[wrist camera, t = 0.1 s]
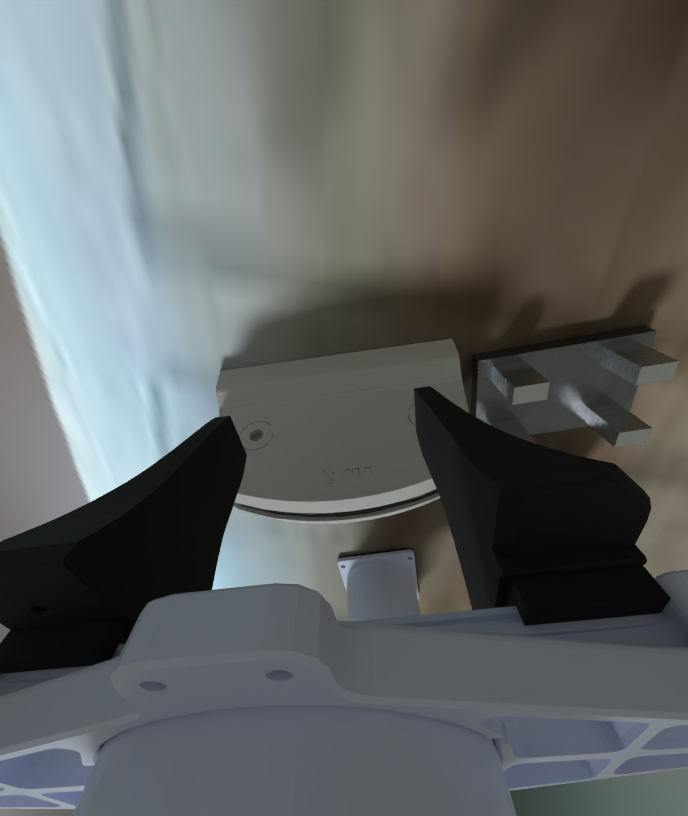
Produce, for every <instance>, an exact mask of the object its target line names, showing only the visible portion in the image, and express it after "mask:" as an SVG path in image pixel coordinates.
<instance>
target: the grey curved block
mask: <svg viewBox="0 0 688 816" xmlns="http://www.w3.org/2000/svg"><path fill="white" fill-rule="evenodd" d="M427 386H431V387H432V388H434V389H435V390H436V391H438V392H439V393H440V394H442V395H443V396H444V397H446V398H447V399H449V400H450V401H451V402H453V403H454V404H456V405H457V406H459V407H460V408H462V409H463V410H465V411H466V412H468V413H469V411H468V406H467V401H466V396H465V391H464V386H463V381H462V375H461V367H460V359H459V353H458V351H457V349H456V346H455V344H454V341H453V339H445V340H438V341H431V342H423V343H416V344H409V345H402V346H394V347H387V348H380V349H373V350H366V351H358V352H351V353H344V354H337V355H330V356H322V357H315V358H308V359H301V360H293V361H286V362H279V363H272V364H265V365H257V366H250V367H243V368H236V369H228V370H221V371H220V374H219V378H218V382H217V386H216V392H217V398H218V404H219V417H223V416H231V419H232V421H233V423H234V426H235V428H236V431H237V433H238V435H239V438H240V440H241V442H242V445H243V447H244V450H245V452H246V454H247V457H246V464H245V469H244V474H243V478H242V482H241V485H240V488H239V491H238V494H237V496H236V499H235V502H234V507H236V508H237V509H240V510H243V511H246V512H249V513H253V514H256V515H260V516H263V517H268V518H273V519H277V520H282V521H290V522H297V523H315V524H336V523H349V522H357V521H365V520H372V519H377V518H381V517H386V516H391V515H394V514H398V513H401V512H405V511H408V510H411V509H414V508H417V507H420V506H423V505H425V504H428V503H430V502H432V501H434V500H437V499H439V498H440V496H439V494H438V491H437V489H436V486H435V484H434V482H433V479H432V477H431V474H430V472H429V470H428V467H427V465H426V462H425V460H424V457H423V455H422V452H421V448H420V445H419V441H418V437H417V433H416V420H415V401H414V388H420V387H427Z"/></svg>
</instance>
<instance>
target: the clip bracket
mask: <svg viewBox="0 0 688 816" xmlns="http://www.w3.org/2000/svg"><path fill="white" fill-rule="evenodd" d="M656 332H657V331H656V330H654V329H651V328H649V327H646V326H639V327H633V328H628V329H622V330H616V331H610V332H604V333H599V334H593V335H587V336H581V337H575V338H569V339H564V340H558V341H552V342H546V343H540V344H535V345H529V346H523V347H517V348H511V349H505V350H500V351H494V352H488V353H482V354H476V355H473V368H472V399H471V415H473V416H475V417H476V418H478V419H480V420H482V421H483V422H485V423H487V424H489V425H491V426H493V427H495V428H498V429H500V430H502V431H504V432H506V433H508V434H511V435H513V436H516V437H518V438H521V439H524V440H526V441H529V442H532V443H535V444H538V443H537V442H536V441H535V440H534V438H533V437H532V436H531V435H536V434H543V433H549V432H556V431H563V430H570V429H576V428H583V427H590V426H591V427H592V428H593V429H594V430H595V431H597V432H598V433H599V434H600V435H601V436H602V437H603V438H604V439H606V440H607V441H608V442H609V443H610V444H611V445H612V446H614V447H620V446H627V445H634V444H641V443H647V440H648V438H649V435H650V433H651V430H652V427H650V426H649V425H647V424H646V423H645V422H643V421H642V420H640V419H639V418H638V417H636V416H635V415H633V414H632V413H631V412H629V411H630V408H631V405H632V402H633V399H634V396H635V393H636V390H637V387H638V385H642V384H649V383H655V382H661V381H668V380H672V378H673V376H674V373H675V371H676V368H677V366H678V363H679V361H678V360H676V359H674V358H672V357H669V356H667V355H665V354H663V353H661V352H659V351H656V350H654V349H652V348H651V347H652V344H653V341H654V338H655V335H656ZM538 445H539V444H538Z"/></svg>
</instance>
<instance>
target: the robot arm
mask: <svg viewBox="0 0 688 816" xmlns="http://www.w3.org/2000/svg"><path fill="white" fill-rule="evenodd" d="M414 401H415V420H416V433H417V437H418V441H419V445H420V448H421V452H422V455H423V457H424V460H425V462H426V465H427V467H428V470H429V472H430V474H431V477H432V479H433V482H434V484H435V486H436V489H437V491H438V494H439V496H440V498H441V501H442V504H443V506H444V509H445V512H446V515H447V519H448V522H449V526H450V529H451V532H452V536H453V539H454V543H455V546H456V550H457V553H458V557H459V561H460V564H461V568H462V572H463V575H464V579H465V583H466V587H467V590H468V594H469V598H470V602H471V606H472V610H468V611H458V612H448V613H437V614H427V615H421V613H420V608H419V603H418V599H419V593H418V584H417V575H416V566H415V557H414V552H413V551H412V550H401V551H393V552H385V553H377V554H369V555H361V556H353V557H345V558H339V559H338V560H337V564H338V567H339V570H340V573H341V576H342V579H343V582H344V585H345V588H346V591H347V616H348V621H340V620H336V618H335V615H334V612H333V609H332V607H331V605H330V604H329V603H328V602H327V601H326V600H325V599H324V598H323V597H322V596H321V594H319V593H318V592H317V591H315V590H312V589H309V588H307V587H304V586H301V585H299V584H278V583H274V584H264V585H255V586H246V587H236V588H227V589H218V590H212V586H213V581H214V576H215V571H216V566H217V561H218V556H219V552H220V547H221V543H222V539H223V535H224V532H225V528H226V525H227V522H228V519H229V516H230V514H231V511H232V508H233V505H234V502H235V499H236V496H237V494H238V491H239V488H240V485H241V482H242V478H243V474H244V469H245V464H246V457H247V454H246V452H245V450H244V447H243V445H242V442H241V440H240V438H239V435H238V433H237V431H236V428H235V426H234V423H233V421H232V419H231V416H223V417H216V418H214V419H212V420H211V421H209V422H208V423H207V424H205V425H204V426H203V427H201V428H200V429H199V430H198V431H196V432H195V433H194V434H193V435H191V436H190V437H189V438H188V439H186V440H185V441H184V442H182V443H181V444H180V445H179V446H177V447H176V448H175V449H174V450H172V451H171V452H170V453H168V454H167V455H166V456H164V457H163V458H161V459H160V460H159V461H157V462H156V463H155V464H153V465H152V466H151V467H149V468H148V469H146V470H145V471H143V472H142V473H140V474H139V475H137V476H135V477H134V478H132V479H131V480H129V481H128V482H126V483H124V484H123V485H121V486H119V487H117V488H115V489H114V490H112V491H110V492H108V493H106V494H105V495H103V496H101V497H99V498H97V499H96V500H94V501H92V502H90V503H88V504H86V505H84V506H82V507H80V508H78V509H76V510H74V511H72V512H69V513H67V514H65V515H63V516H61V517H59V518H56V519H55V520H52V521H50V522H47V523H45V524H43V525H40V526H38V527H35V528H33V529H30V530H28V531H25V532H23V533H21V534H18V535H16V536H13V537H11V538H8V539H5V540H3V541H2V542H0V623H1V624H2V625H4V626H5V627H7V628H8V629H11V630H10V632H9V633H8V634H7V635H6V637H5V638H4V639H3V641H2V642H1V643H0V808H1V809H11V808H12V809H13V808H14V809H24V808H25V809H75V810H74V813H73V814H72V816H516V812H515V809H514V806H513V802H512V799H511V795H510V792H509V791H510V790H517V789H525V788H533V787H541V786H548V785H557V784H565V783H572V782H581V781H589V780H597V779H605V778H613V777H621V776H628V775H636V774H644V773H653V772H661V771H670V770H679V769H687V768H688V570H680V571H672V572H667V573H664V574H662V575H659V576H657V577H656V578H655V579H654V578H653V577H652V576H651V574H650V573H649V572H648V571H647V570H646V568H645V567H644V566H643V565H644V564H646V562H647V559H646V557H645V555H644V554H643V553H642V552H641V551H640V550H639V549H638V547H637V546H636V545H635V543H636V541H637V539H638V538H639V536H640V534H641V532H642V530H643V528H644V526H645V524H646V522H647V520H648V517H649V513H650V510H651V502H650V498H649V496H648V495H647V494H646V493H645V491H644V490H643V489H642V488H641V487H640V486H639V485H637V484H636V483H635V482H634V481H633V480H632V479H631V478H630V477H629V476H628V475H627V474H626V473H625V472H623V471H622V470H621V469H620V468H619V467H618V466H617V465H615V464H613V463H609V462H604V461H599V460H595V459H590V458H585V457H581V456H576V455H572V454H568V453H565V452H561V451H557V450H554V449H550V448H547V447H544V446H541V445H538V444H535V443H532V442H529V441H526V440H524V439H521V438H518V437H516V436H513V435H511V434H508V433H506V432H504V431H502V430H500V429H498V428H495V427H493V426H491V425H489V424H487V423H485V422H483V421H482V420H480V419H478V418H476V417H475V416H473V415H471V414H470V413H468V412H466V411H465V410H463V409H462V408H460V407H459V406H457V405H456V404H454V403H453V402H451V401H450V400H449V399H447V398H446V397H444V396H443V395H442V394H440V393H439V392H438V391H436V390H435V389H434V388H432V387H431V386H427V387H420V388H414Z"/></svg>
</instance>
